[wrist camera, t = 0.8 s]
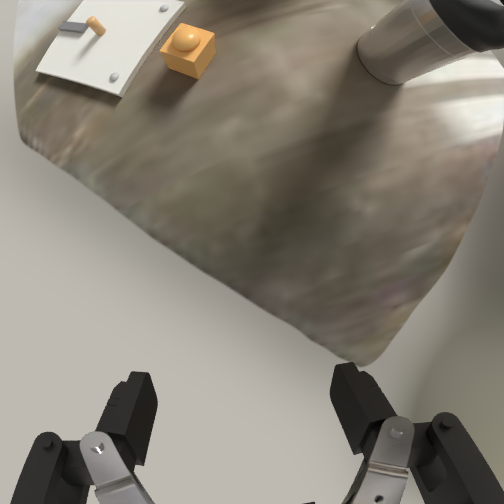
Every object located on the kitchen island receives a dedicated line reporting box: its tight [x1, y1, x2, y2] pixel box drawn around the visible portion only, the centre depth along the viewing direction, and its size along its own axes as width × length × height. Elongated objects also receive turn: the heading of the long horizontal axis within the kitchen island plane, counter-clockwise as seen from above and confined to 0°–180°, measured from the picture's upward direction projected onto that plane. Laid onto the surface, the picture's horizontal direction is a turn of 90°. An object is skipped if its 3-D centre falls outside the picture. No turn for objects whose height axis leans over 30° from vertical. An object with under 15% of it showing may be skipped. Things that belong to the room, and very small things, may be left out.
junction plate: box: [36, 0, 186, 98], centre depth 22 cm, size 16×18×6 cm
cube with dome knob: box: [160, 23, 216, 79], centre depth 24 cm, size 4×4×6 cm
